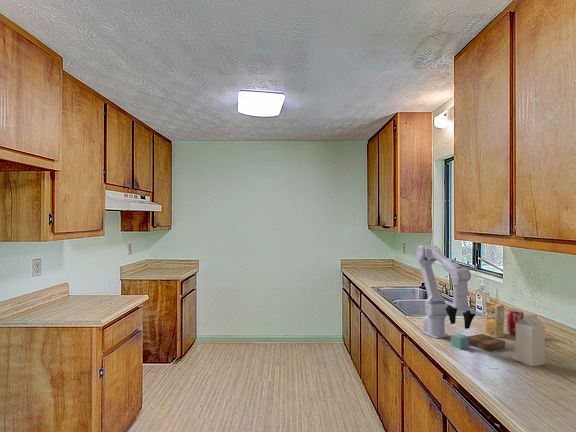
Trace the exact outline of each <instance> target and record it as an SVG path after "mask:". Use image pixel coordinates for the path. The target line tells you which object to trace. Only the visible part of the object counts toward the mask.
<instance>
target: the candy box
mask: <svg viewBox="0 0 576 432" xmlns="http://www.w3.org/2000/svg"><path fill="white" fill-rule="evenodd" d="M484 323H485V324H484V332H486V333H487V334H489V335H492V337H494V338H504V327H505V325H504V324H505V305H503V304H500V303H497V302H494V301H485V321H484Z"/></svg>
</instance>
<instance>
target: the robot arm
mask: <svg viewBox="0 0 576 432" xmlns="http://www.w3.org/2000/svg"><path fill="white" fill-rule="evenodd" d="M415 254H416V258H417V262H418V264H419V267H420V271H421V274H422V279H423V283H424V286H425V291H426V294H427V297H428V298H427V299H425V301H424V303H423V304H424V311H425V312H424V313H425V314H426V315H425V316H424V318H423V331H422V332H421V333H423V334H424V335H427V336H429V337H432V338H435V339H442V338H447V337H449V334H446V333H445V331H446V330H445V325H446V321H445V319H446V318H447V316H448V318H449V322H450V324H451V325H455V324H456V320H457V319H456V318H457V317H456V316H457V311H458V310H459V311H463V312H462V315H463V320H464V321H463V322H464V329H466V330H468V329H470V328H471V325H472V321H473V319H474V318H475V317H476V313H477V308H475V307H471V306H469V305H468V288H469V287H468V283H469V281H470V280H471V277H472V275H471V271H470V269H469V268H467V267H462V266H461V265H460V264H458V263H457V262H456V261H455V259H453V258H448V257H447V256H446V255H445V254H444V253H442V251H441V247H439V246H438V245H436V244H435V245H434V244H433V245H418V246H417V248H416V251H415ZM436 261H438V262H439V263H440V264H441V265H442V268H443V269H444V270H445V271H446V272H447V273H448V274H449V275H450V278H451V281H452V282H451V284H452V285H453V287H452V288H453V291H452V292H453V293H452V294H453V295H452V296H453V297H452V300H453V301H452V302H451V301H446V299H445V298H443V297H442V296H440V292H439V289H438V285H437V282H436V278H435V274H434V271H433V267H432V266H433V264H435V262H436Z"/></svg>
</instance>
